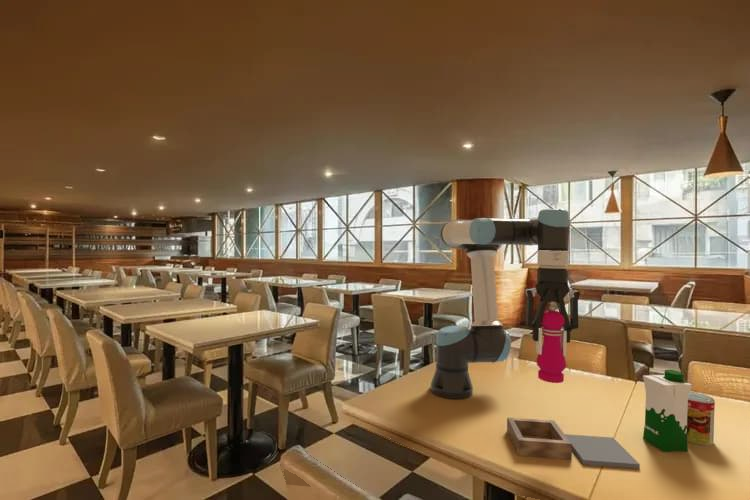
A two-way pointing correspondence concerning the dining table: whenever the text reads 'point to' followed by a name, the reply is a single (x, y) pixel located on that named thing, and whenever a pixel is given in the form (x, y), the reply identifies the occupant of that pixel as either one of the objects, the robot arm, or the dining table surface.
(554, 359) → the pepper mill
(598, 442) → the coaster
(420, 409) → the dining table surface
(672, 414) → the milk carton
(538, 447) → the brown wooden square tray
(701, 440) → the canned food
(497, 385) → the dining table surface
